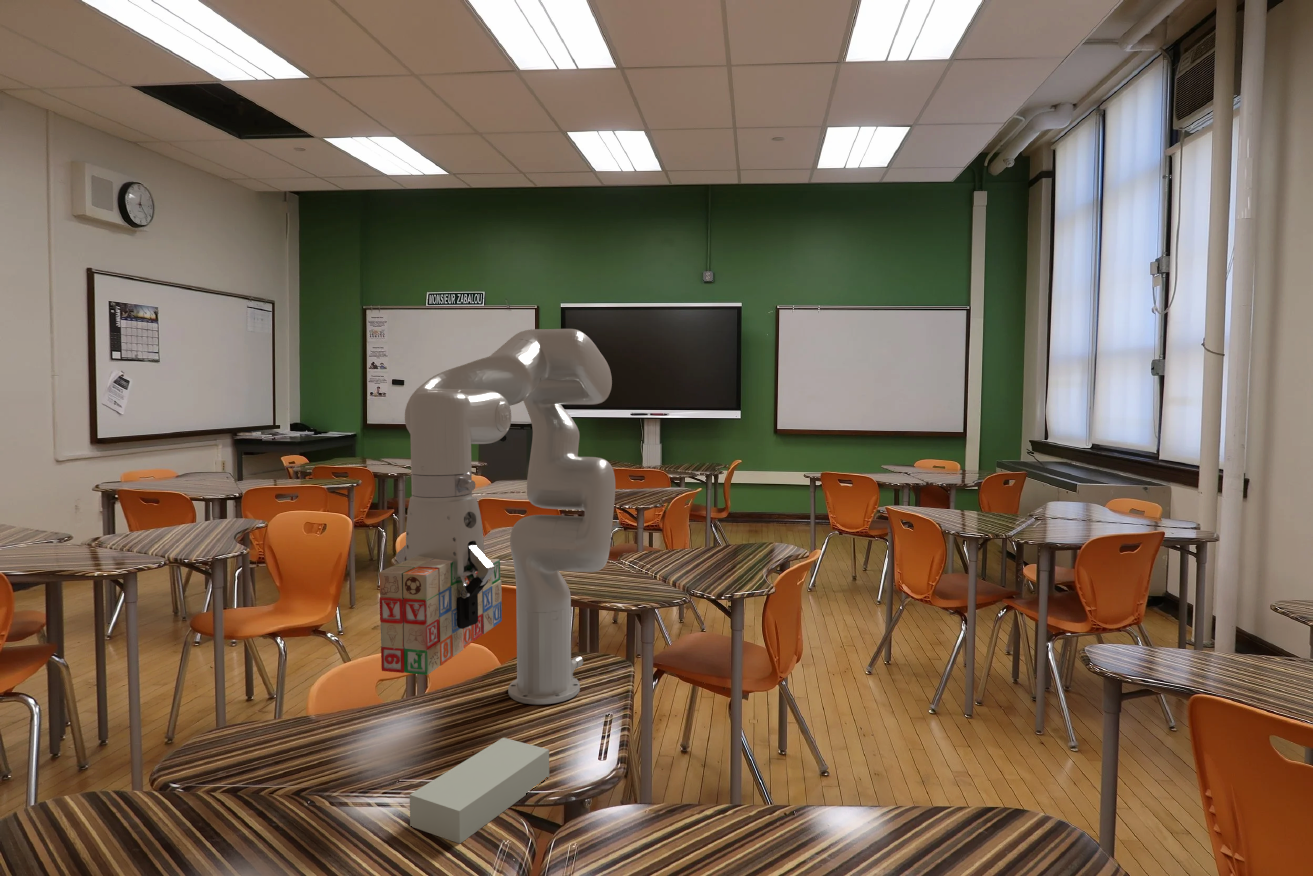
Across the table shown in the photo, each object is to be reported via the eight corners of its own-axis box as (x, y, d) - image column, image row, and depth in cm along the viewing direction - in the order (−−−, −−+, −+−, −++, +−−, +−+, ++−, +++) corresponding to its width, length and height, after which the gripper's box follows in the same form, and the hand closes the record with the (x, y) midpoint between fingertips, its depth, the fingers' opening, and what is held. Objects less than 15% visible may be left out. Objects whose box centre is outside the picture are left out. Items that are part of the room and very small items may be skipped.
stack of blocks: (462, 619, 115) (461, 536, 114) (502, 622, 113) (501, 538, 112) (380, 671, 94) (377, 570, 93) (428, 676, 92) (425, 573, 92)
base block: (503, 764, 113) (503, 737, 112) (549, 777, 109) (549, 749, 109) (410, 826, 97) (409, 794, 96) (459, 843, 93) (459, 811, 93)
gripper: (513, 487, 100) (515, 623, 102) (415, 479, 109) (418, 604, 110) (472, 495, 94) (474, 640, 95) (372, 485, 102) (375, 618, 104)
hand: (444, 620), depth 103 cm, fingers closed on stack of blocks, 7 cm apart
